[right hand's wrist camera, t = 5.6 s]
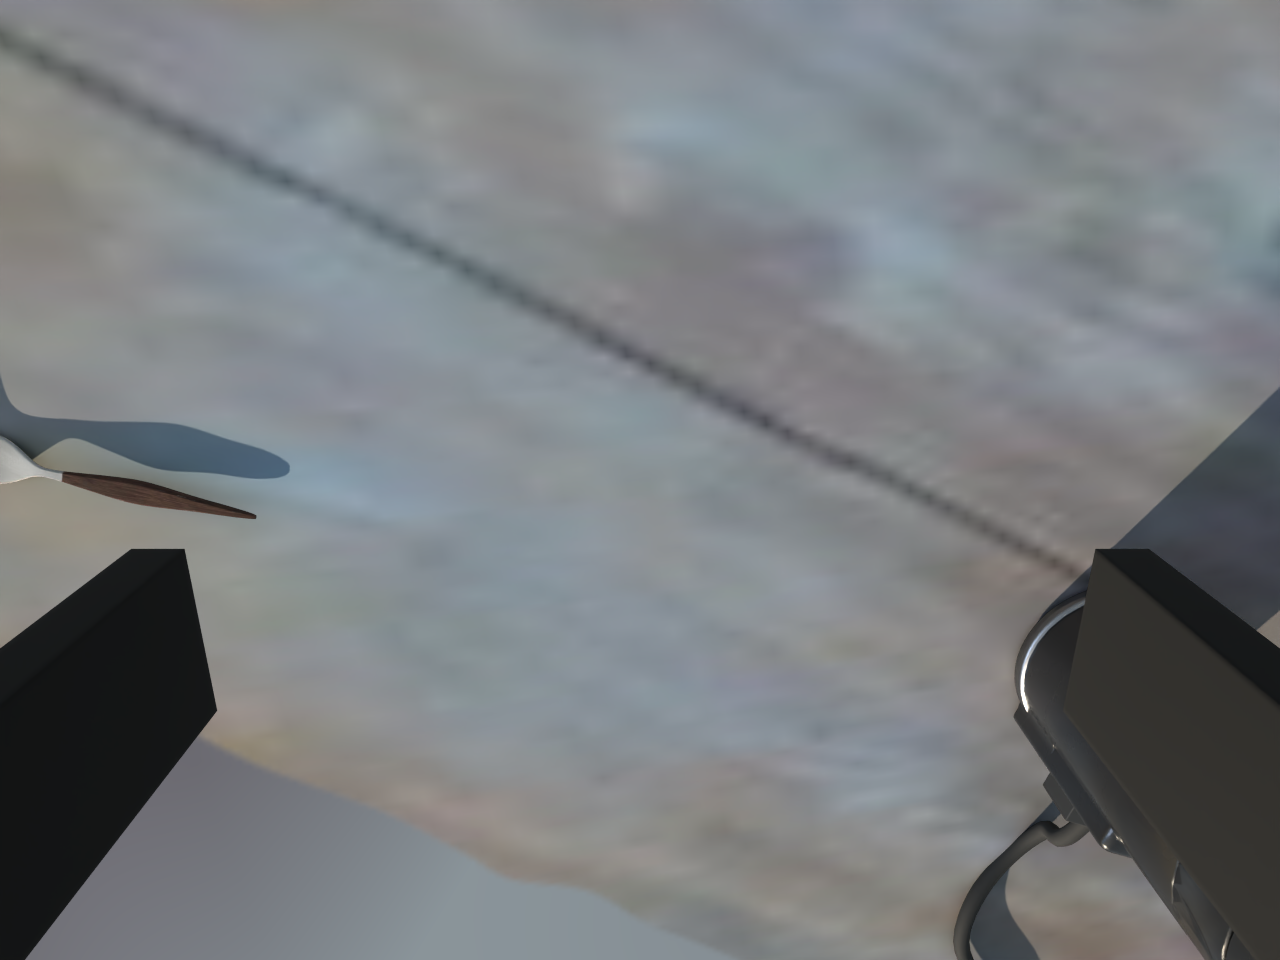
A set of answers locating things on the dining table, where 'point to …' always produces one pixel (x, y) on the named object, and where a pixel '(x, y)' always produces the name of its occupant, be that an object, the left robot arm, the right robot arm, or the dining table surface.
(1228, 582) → the dining table surface
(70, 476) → the fork
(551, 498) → the dining table surface
